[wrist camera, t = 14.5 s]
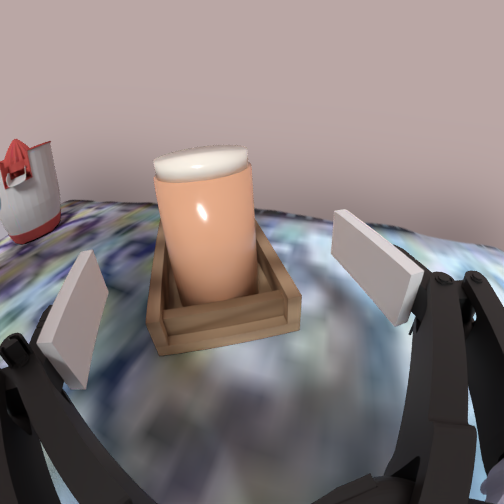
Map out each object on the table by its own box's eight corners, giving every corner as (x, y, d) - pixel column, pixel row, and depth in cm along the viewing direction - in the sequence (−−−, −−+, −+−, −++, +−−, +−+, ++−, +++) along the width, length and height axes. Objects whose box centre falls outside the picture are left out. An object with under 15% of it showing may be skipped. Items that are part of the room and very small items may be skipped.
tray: (299, 330, 21) (303, 252, 18) (159, 355, 19) (130, 281, 16) (243, 220, 40) (239, 173, 37) (166, 233, 38) (157, 185, 35)
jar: (165, 309, 23) (130, 168, 17) (200, 265, 28) (182, 147, 22) (243, 326, 21) (227, 163, 15) (267, 274, 26) (262, 143, 20)
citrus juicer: (2, 263, 34) (-30, 156, 24) (11, 234, 46) (-11, 152, 36) (73, 231, 42) (48, 122, 32) (66, 210, 54) (49, 128, 44)
